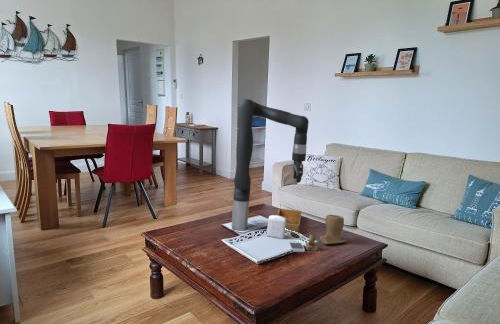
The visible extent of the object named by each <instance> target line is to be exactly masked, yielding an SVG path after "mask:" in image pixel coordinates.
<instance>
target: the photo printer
mask: <svg viewBox="0 0 500 324" xmlns="http://www.w3.org/2000/svg"><path fill="white" fill-rule="evenodd" d="M285 228H286V218H284V217H281V216H277V214H275V215H274V214H272V215H269V216H268V220H267V228H266V229H267V230H266V236H267V237H271V238H276V239H280V240H281V239H283V238H284V239H285V237H286V236H285V235H286V232H285ZM284 239H283V240H284Z"/></svg>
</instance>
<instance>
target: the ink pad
mask: <svg viewBox="0 0 500 324" xmlns="http://www.w3.org/2000/svg"><path fill="white" fill-rule="evenodd" d="M287 244H288V245H289V246H288V245H287V246H288V248H289V247H290V248H289V250H290V249H291V250H293V253H294V252H295V253H305V250H306V248H305V246H304V245H303V244H302V242H288V243H287ZM291 250H290V251H291Z"/></svg>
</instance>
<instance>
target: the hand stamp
mask: <svg viewBox="0 0 500 324" xmlns="http://www.w3.org/2000/svg"><path fill="white" fill-rule="evenodd" d="M305 245H306V247H305V250H307V251H306V252H318V249H317V247H318V245H317V244H316V235H315V234H309V238H308V242H305Z"/></svg>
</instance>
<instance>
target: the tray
mask: <svg viewBox="0 0 500 324" xmlns="http://www.w3.org/2000/svg"><path fill="white" fill-rule="evenodd" d="M276 215H277V216H281V217H284V218H286V229H288V230H291V231H295V232H298V233H297V234H299V233H300V228H301V227H300V225H301V219H302V218H301V217H302V210H297V209H296V210H295V209H287V208H286V209H285V208H278V209H277V212H276Z"/></svg>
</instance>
